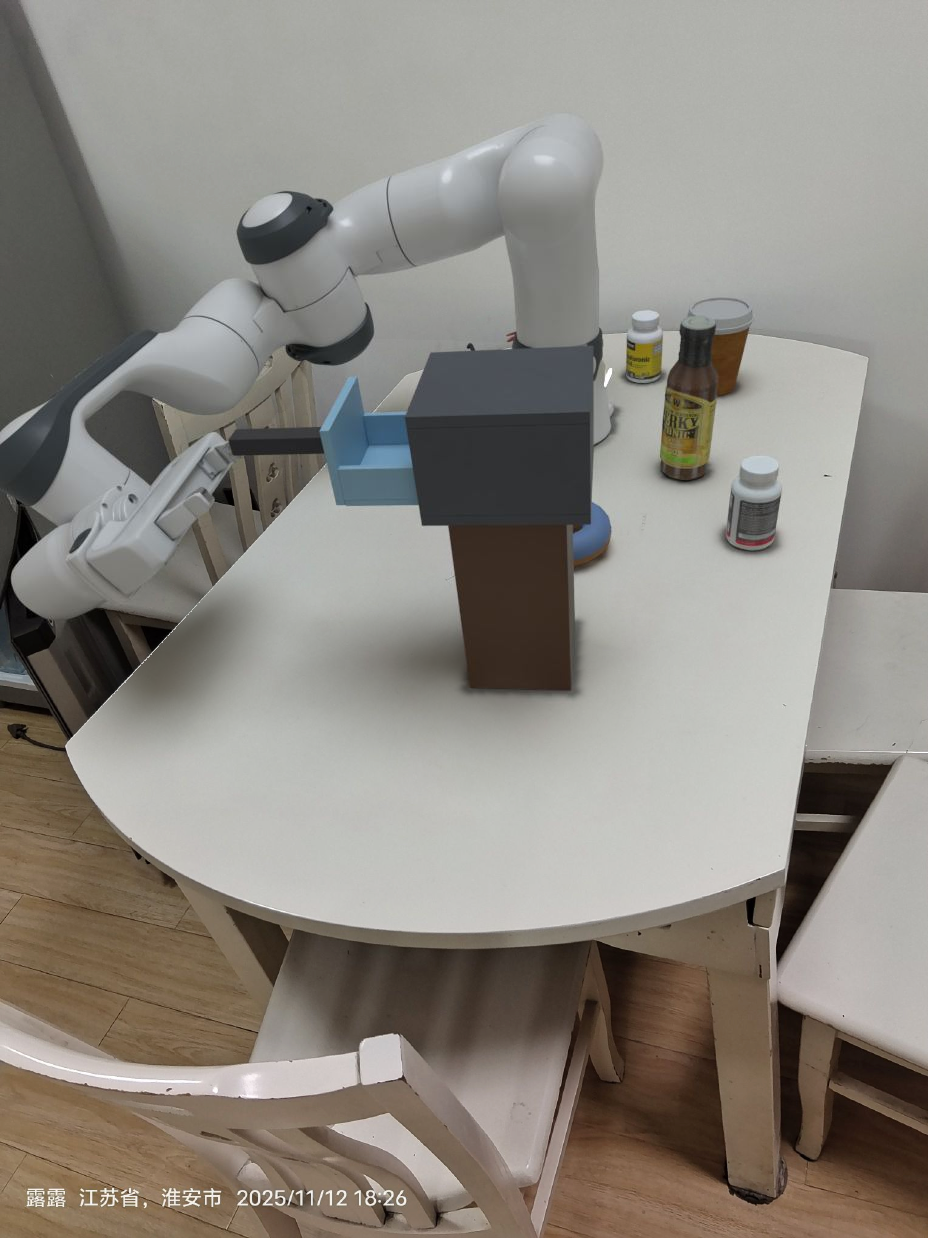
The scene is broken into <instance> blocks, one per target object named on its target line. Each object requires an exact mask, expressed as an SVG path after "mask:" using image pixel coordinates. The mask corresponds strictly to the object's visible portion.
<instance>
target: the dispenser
mask: <svg viewBox="0 0 928 1238" xmlns="http://www.w3.org/2000/svg"><path fill="white" fill-rule="evenodd" d="M406 412H407V413H406V415H405V422H406V428H407V434H408V441H409V447H410V453H411V460H412V466H413V472H414V479H415V485H416V491H417V498H418V504H419V505H418V509H419V515H420V522H421V523H420V524H421V526H422V527H444V526H445V527H447V528H448V535H449V543H450V550H451V556H452V557H451V558H452V564H453V573H454V581H455V587H456V588H455V589H456V594H457V601H458V610H459V616H460V617H459V618H460V624H461V632H462V639H463V648H464V653H465V661H466V669H467V677H468V684H469V688H470V689H496V690H497V689H503V690H536V691H537V690H539V691H540V690H543V691H545V690H546V691H549V690H550V691H571V690H572V683H573V665H574V649H575V648H574V647H575V633H576V632H575V631H576V630H575V628H576V608H575V605H576V604H575V566H574V557H573V533H574V529H573V525H590V524H591V506H592V502H593V481H594V480H593V478H594V458H595V457H594V455H595V451H594V450H595V448H594V447H595V444H594V378H593V346H572V347H548V348H525V349H512V348H507V349H506V348H504V349H481V350H479V349H478V350H475V351H471V350H455V351H454V350H453V351H434V352H433V351H432V352H431V351H430V353H429V355H428V358H427V360H426V363H425V365H424V368H423V370H422V372H421V375H420V377H419V380H418V383H417V385H416V388H415V391H414V393H413V395H412V398H411V400H410V403H409V405H408V408H407V411H406Z"/></svg>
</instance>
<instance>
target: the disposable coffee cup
mask: <svg viewBox="0 0 928 1238" xmlns="http://www.w3.org/2000/svg"><path fill="white" fill-rule="evenodd" d="M691 316H706V317H710V318H712V319H714V320H715V321H716V331H715V335H714V337H713V343H712V357H711V362H712V364H713V365H714V366H715V368H716V371H717V373H718V386H717V397H718V396H722V395H724V396H725V395H728V394H730V393H732V392H733V391H734V390H735V388H736V385H737V382H738V381H737V380H738V376H739V372H740V368H741V364H742V361H743V355H744V352H745V347H746V343H747V339H748V335H749V331H750V327H751V326H752V324H753V322H754V321H755V313H754V312H753V306H752V304H751V303H750V302H749V301H747V300H745V299H741V298H737V297H731V296H712V297H707V298H703V299H699V300H696V301H695V302H693V303H692V304H691V305H690V306H689V309H688V312H686V314H685V318H687V317H691ZM685 318H684V319H685Z"/></svg>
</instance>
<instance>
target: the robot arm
mask: <svg viewBox="0 0 928 1238" xmlns="http://www.w3.org/2000/svg"><path fill="white" fill-rule="evenodd" d="M603 171H604V149H603V147H602V143H601V141H600V138H599V136H598V134H597V132H596V130H595V129H594V128H593V126H592V125H590V123H589V122H588V121H586V120H585V119H584V118H582V117H580V116H579V115H576V114H573V113H568V112H557V113H553V114H552V113H551V114H549V115H546V116H543V117H541V118H538V119H535V120H532V121H529V122H528V123H524V124H522V125H520V126H517V127H515V128H512V129H510V130H508V131H505V132H503V133H500V134H498V135H496V136H492V137H490V138H488V139H486V140H484V141H482V142H479V143H476V144H473V145H471V146H470V147H468V148H465V149H463V150H461V151H458V152H456V153H454V154H451V155H449V156H446V157H443V158H439V159H437V160H433V161H430V162H427V163H425V164H422V165H421V164H420V165H419V166H416V167H412V168H409V169H407V170H404V171H401V172H397V173H394V174H391V175H388V176H386V177H384V178H381V179H378V180H376V181H374V182H371V183H369V184H366V185H364V186H362V187H360V188H358V189H357V190H355V191H353V192H352V193H349V194H347V195H345V196H344V197H343V198H341V199H339V200H337V201H336V202H335V203H334V204H331V203H330V202H329V201H328V200H326V199H324V198H318V197H317V198H316V197H315V198H314V197H312V196H311V195H309V194H306V193H303V192H298V191H292V190H282V191H278V192H275V193H272V194H270V195H266V196H264V197H262V198H261V199H259V200H258V201H256V202H255V203H253V205H252V206H250V207H249V208H248V209H247V210H246V211H245V212H244V213H243V214H242V216H241V218H240V219H239V223H238V225H237V227H236V237H237V238H236V239H237V241H238V245H239V247H240V250H241V253H242V256H243V258H244V260H245V261H246V263H248V264H250V266H251V269H252V271H253V274H254V275H255V277H256V280H257V283H256V282H255V281H252V280H249V279H247V278H241V277H232V278H228V279H224V280H222V281H220V282H219V283H218V284H217V285H215V286H214V287H213V288H211V289H210V290H209V291H207V293H205V294H204V295H203V296H202V297H201V298H199V300H198V301H197V302H196V303H194V305H193V306H192V308H191V309H189V310H188V311H187V313H186V314H185V315H184V317H183V318H182V319H181V321H180V322H179V323H178V325H176V326H175V328H173V329H172V330H169V331H167V332H166V331H165V332H158V331H156V330H152V329H148V328H146V329H143V330H139V331H138V332H135V333H133V334H131V335H129V336H128V337H127V338H125V339H124V340H122V341H121V342H119V343H118V344H117V345H116V346H114V347H113V348H112V349H110V350H109V351H107V352H106V353H104V354H103V355H101V356H100V357H98V358H97V359H96V360H94V362H92V363H91V364H90V365H88V366H87V367H86V368H84V370H82V371H81V372H80V373H78V374H77V375H76V376H75V377H73V378H72V379H71V380H70V381H69V382H67V383H66V384H65V385H64V386H62V387H61V388H60V389H58V390H57V392H54V394H53V395H52V396H51V397H50V398H48V399H47V400H46V401H45V402H43V403H42V404H41V405H39V406H36V407H34V408H32V409H31V410H29V411H26V412H25V413H23V414H21V415H20V416H18V417H16V418H15V419H13V420H12V421H10V422H9V423H8V424H7V425H6V426H5V427H4V428H2V429H1V431H0V491H2V493H4V494H7V495H8V496H10V497H11V498H13V499H15V500H16V501H18V502H19V503H21V504H23V505H25V506H27V507H30V508H31V509H33V510H35V511H36V512H37V513H38V514H40V515H41V516H43V517H44V518H45V519H46V520H48V521H49V522H51V523H52V524H53V525H55V526H56V527H55V528H53V530H51V531H50V532H49V533H47V534H46V535H45V536H43V537H42V538H41V539H40V540H39V541H37V543H35V544H34V545H33V546H32V547H31V548H30V549H29V550H28V551H27V552H26V553H25V554H24V555H23V556H22V557H21V558H20V560H19V561H18V562H17V563H16V564H15V566H14V567H13V568H12V571H11V576H10V580H11V581H10V582H11V586H12V589H13V592H14V594H15V596H16V597H17V598H18V600H19V601H20V602H21V604H22V605H24V606H25V607H26V608H27V609H29V611H31V612H33V613H34V614H36V615H38V616H39V617H41V618H43V619H46V620H49V621H67V620H70V619H73V618H74V619H75V618H76V617H80V616H82V615H84V614H86V613H89V612H91V611H92V610H95V609H96V608H98V607H100V606H101V605H104V604H105V603H106V602H109V603H110V604H112V605H113V606H114V607H116V608H118V607H121V606H122V605H124V604H126V603H127V602H129V601H130V600H131V599H132V598H133V597H134V596H135V595H136V593H137V592H138V591H139V589H140V588H142V586H143V585H144V584H146V583H147V582H148V581H149V580H151V579H152V578H153V577H154V576H156V575H157V573H159V572H160V570H161V569H162V568H163V567H165V566H166V565H168V564H169V563H171V562H172V561H173V559H175V557H176V555H177V553H178V549H179V543H180V542H181V541H182V540H183V538H184V536H185V535H186V534H187V532H188V530H189V529H190V528H191V526H192V525H193V524H194V523H195V522H196V521H197V520H198V519H199V518H200V517H201V516H203V515H205V514H206V513H207V512H209V511H210V509H211V507H212V506H213V504H214V503H215V501H216V500H215V497H214V495H213V493H214V492H215V491H216V489H217V487H218V486H219V484H220V483H221V482H222V480H223V478H224V477H225V475H226V474H227V473H228V471H229V470H230V468H231V467H232V466H233V464H235V463H237V462H238V461H240V460H241V459H242V458H244V457H245V456H233V454H232V451H231V448H230V444H229V441H228V440H225V439H224V438H223V437H222V436H221V435H220V434H219V433H218V432H216V431H211V432H208V433H206V434H205V435H203V436H202V437H201V438H199V439H198V440H196V441H195V442H194V443H192V445H190V446H189V447H188V448H186V449H185V450H184V451H182V452H181V453H180V454H179V455H177V456H176V457H175V458H174V459H172V461H171V462H169V463H168V464H167V465H166V466H165V467H164V469H163V470H162V471H161V472H160V473H159V474H158V475H157V477H156V479H155V480H154V481H153V482H152V484H149V483H148V482H147V481H145V480H144V479H143V478H142V477H141V476H139V474H137V473H136V472H135V471H134V470H132V469H131V468H130V467H127V465H125V464H124V463H123V462H121V461H120V460H119V459H118V458H116V457H115V456H114V454H111V453H110V452H109V451H108V450H107V449H106V448H105V447H103V446H102V445H100V444H99V443H98V442H97V441H96V440H95V439H94V438H93V437H91V435H90V434H89V432H88V430H87V428H86V421H88V419H90V418H91V417H92V416H93V415H94V414H96V413H97V412H98V411H99V410H101V409H102V408H103V407H104V406H105V405H106V404H107V403H109V402H110V401H111V400H112V399H113V398H114V397H116V396H117V395H118V394H119V393H121V392H124V391H126V392H127V391H128V392H134V393H137V394H141V395H144V396H146V397H149V398H152V399H154V400H157V401H159V402H160V403H163V404H166V405H167V406H169V407H171V408H173V409H175V410H179V411H181V412H184V413H188V414H191V415H198V416H199V415H200V416H215V415H219V414H223V413H226V412H228V411H231V410H233V409H234V408H235V407H236V406H237V405H239V404H240V402H242V401H243V399H244V398H245V397H246V396H247V394H248V393H249V391H250V390H251V389H252V387H253V386H254V384H255V382H256V381H257V379H258V378H259V376H260V374H261V372H262V371H263V369H264V367H265V365H266V363H267V361H268V360H269V359H270V357H271V356H272V355H273V354H274V353H275V352H276V351H277V350H279V349H280V348H282V347H284V348H285V353H286V354H287V356H288V357H289V358H290V359H292V360H294V361H296V362H303V361H306V362H309V363H310V364H313V365H319V366H320V365H321V366H332V367H333V366H340V365H344V364H347V363H349V362H351V361H353V360H354V359H356V358H357V357H359V356H360V355H361V354H362V353H364V351H365V350H367V348H368V347H369V345H370V343H371V341H372V340H373V338H374V335H375V325H374V319H373V316H372V312H371V309H370V306H369V304H368V303H367V302H366V301H365V299H364V296H363V294H362V291H361V288H360V285H359V283H358V281H357V279H356V278H358V277H359V276H373V275H383V274H391V273H396V272H401V271H406V270H409V269H413V268H417V267H421V266H424V265H428V264H432V263H435V262H438V261H442V260H445V259H449V258H453V257H456V256H457V257H458V256H460V255H464V254H466V253H470V252H474V251H476V250H478V249H481V248H482V247H483V246H485V245H487V244H489V243H491V242H493V241H495V240H497V239H499V238H502V237H503V236H504V240H505V244H506V245H505V246H506V251H507V257H508V260H509V264H510V270H511V276H512V284H513V285H512V286H513V299H514V300H513V301H514V315H515V318H514V319H515V331H513V332H511V333H510V332H509V333H508V334H506V335H505V337H509V338H508V339H507V340H506V343H511V342H512V345H511V349H525V348H548V347H572V346H593V378H594V445H596V444H598V443H600V442H601V441H603V440H604V439H605V438H606V437H607V436H608V435H609V434H610V432H611V430H612V423H611V418H612V416H613V414H614V412H615V409H614V403H613V402H611V401H610V399H609V390H608V383H609V380H610V378H611V376H612V373H613V368H609V369H608V371H607V370H606V369H607V368H606V363H605V360H604V359H603V357H604V338H603V330H602V328H601V327H600V267H599V260H598V259H599V258H598V248H597V247H598V246H597V232H596V230H597V229H596V198H597V193H598V192H597V191H598V187H599V183H600V180H601V178H602V174H603ZM466 349H468V350H469V351H476V348H475V346H474V345H473V343H472V342H469V343H468V344H467V345H466Z"/></svg>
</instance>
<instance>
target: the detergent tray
mask: <svg viewBox="0 0 928 1238" xmlns="http://www.w3.org/2000/svg"><path fill="white" fill-rule="evenodd" d="M359 383H360V382H359V378H358V376H348V378H347V380H346V381H345V383H344V385H343V387H342V388H341V390H340V392H339V394H338V396H337V398H336V399H335V401H334V403H333V405H332V407H331V408H330V411H329V412H328V414H327V417H326V418H325V420H324V422H323V424H322V425H321V426H306V427H304V426H301V427H300V426H299V427H268V428H236V429H235V430H234V431H233V432H232V434H231V435H230V436H229V438H228V440H227V441H229V444H230V448H231V451H232V454H233V456H244V457H245V456H282V455H283V456H285V455H286V456H287V455H324V457H325V462H326V467H327V470H328V474H329V480H330V483H331V488H332V492H333V496H334V501H335V505H336V506H346V507H381V506H383V507H384V506H386V507H387V506H390V507H391V506H419V504H418V498H417V491H416V485H415V479H414V472H413V466H412V460H411V453H410V447H409V441H408V434H407V428H406V422H405V415H406V413H407V411H386V412H385V411H382V412H365V410H364V405H363V400H362V399H363V398H362V395H361V388H360V384H359Z"/></svg>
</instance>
